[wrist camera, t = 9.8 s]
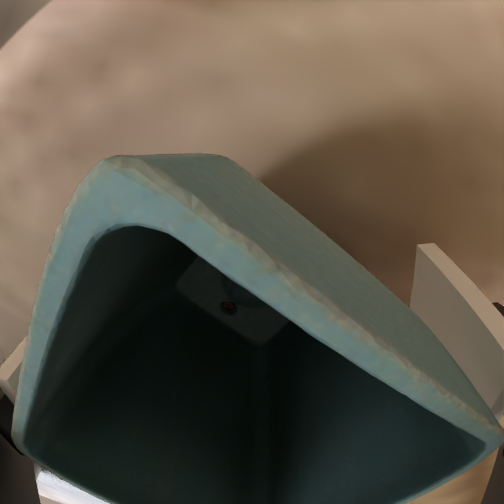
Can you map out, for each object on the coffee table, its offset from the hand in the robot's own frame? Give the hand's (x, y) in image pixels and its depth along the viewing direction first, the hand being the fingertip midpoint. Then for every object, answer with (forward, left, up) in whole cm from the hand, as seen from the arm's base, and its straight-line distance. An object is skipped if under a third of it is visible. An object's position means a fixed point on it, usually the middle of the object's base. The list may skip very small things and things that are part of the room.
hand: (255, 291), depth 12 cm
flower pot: (0, 0, -1) cm, 1 cm away
